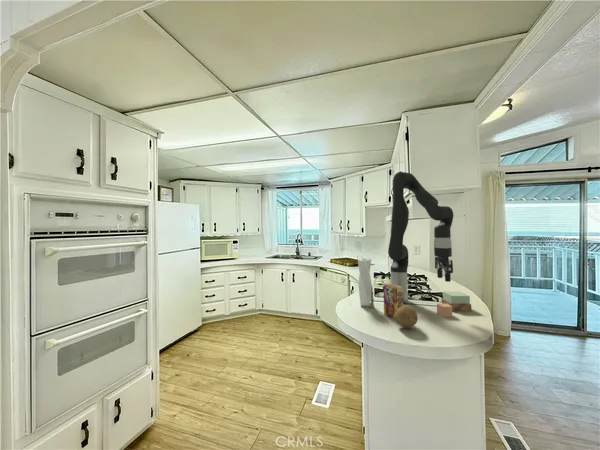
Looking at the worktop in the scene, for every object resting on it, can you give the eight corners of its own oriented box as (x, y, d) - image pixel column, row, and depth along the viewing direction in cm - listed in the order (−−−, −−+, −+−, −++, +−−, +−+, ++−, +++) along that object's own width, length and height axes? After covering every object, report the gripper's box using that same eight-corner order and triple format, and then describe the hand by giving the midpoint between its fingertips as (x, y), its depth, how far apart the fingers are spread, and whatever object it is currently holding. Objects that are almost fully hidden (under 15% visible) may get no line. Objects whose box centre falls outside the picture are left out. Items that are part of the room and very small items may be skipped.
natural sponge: (421, 333, 105) (421, 309, 105) (399, 332, 106) (398, 309, 106) (414, 324, 114) (413, 302, 114) (393, 324, 115) (393, 302, 115)
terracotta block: (441, 317, 123) (441, 306, 123) (437, 313, 128) (436, 303, 128) (452, 317, 122) (452, 306, 122) (447, 313, 127) (447, 303, 127)
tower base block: (450, 311, 130) (450, 304, 130) (441, 305, 140) (441, 298, 140) (471, 312, 129) (471, 304, 129) (461, 306, 139) (461, 298, 139)
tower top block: (451, 303, 131) (451, 295, 131) (443, 298, 140) (442, 291, 140) (469, 303, 130) (469, 296, 130) (460, 298, 139) (460, 291, 139)
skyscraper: (358, 307, 140) (357, 256, 140) (357, 302, 148) (356, 254, 148) (374, 307, 138) (373, 256, 138) (372, 303, 146) (371, 254, 146)
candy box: (404, 318, 122) (403, 286, 122) (397, 320, 120) (396, 287, 120) (389, 312, 130) (389, 283, 130) (383, 314, 128) (382, 284, 128)
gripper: (429, 245, 133) (430, 276, 133) (441, 248, 119) (442, 282, 118) (444, 245, 132) (445, 276, 132) (458, 247, 118) (459, 282, 118)
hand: (443, 279), depth 125 cm, fingers open, 8 cm apart
